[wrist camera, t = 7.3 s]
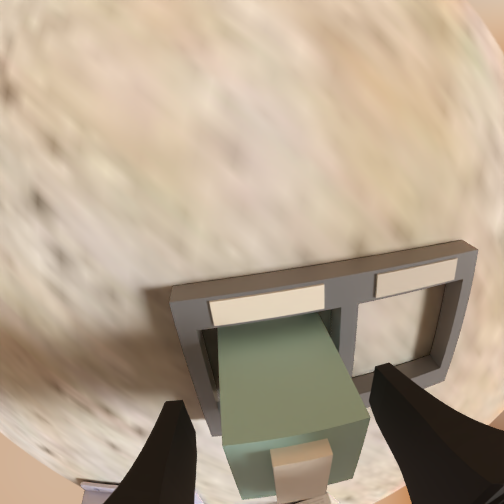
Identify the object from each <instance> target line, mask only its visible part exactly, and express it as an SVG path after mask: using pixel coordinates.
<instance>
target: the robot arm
mask: <svg viewBox="0 0 504 504" xmlns="http://www.w3.org/2000/svg"><path fill="white" fill-rule="evenodd" d="M369 403H370V406H371V409H372V412H373V414H374V417H375V420H376V422H377V424H378V426H379V428H380V430H381V432H382V434H383V436H384V438H385V440H386V442H387V444H388V446H389V448H390V450H391V451H392V453H393V455H394V457H395V459H396V461H397V463H398V465H399V468H400V470H401V472H402V475H403V478H404V481H405V483H406V486H407V489H408V492H409V495H410V499H411V502H412V504H504V431H503V430H499V429H496V428H493V427H490V426H488V425H485V424H483V423H480V422H478V421H476V420H473V419H471V418H469V417H467V416H465V415H463V414H462V413H460V412H458V411H456V410H454V409H452V408H451V407H449V406H448V405H446V404H444V403H443V402H441V401H440V400H438V399H437V398H435V397H434V396H432V395H431V394H430V393H428V392H427V391H425V390H424V389H423V388H421V387H420V386H419V385H417V384H416V383H415V382H413V381H412V380H411V379H410V378H408V377H407V376H406V375H404V374H403V373H402V372H401V371H399V370H398V369H397V368H396V367H394V366H393V365H392V364H390V363H386V364H382V365H379V366H375V371H374V376H373V382H372V387H371V392H370V397H369ZM196 463H197V448H196V432H195V429H194V427H193V425H192V422H191V420H190V417H189V415H188V413H187V410H186V408H185V405H184V403H183V400H177V401H166V402H165V403H164V406H163V408H162V411H161V413H160V415H159V417H158V419H157V422H156V424H155V426H154V428H153V430H152V432H151V434H150V436H149V438H148V440H147V441H146V443H145V445H144V447H143V449H142V451H141V452H140V454H139V456H138V457H137V459H136V461H135V462H134V464H133V466H132V467H131V469H130V470H129V472H128V473H127V474H126V476H125V477H124V479H123V480H122V481H121V483H120V484H119V485H109V484H99V483H91V482H81V485H80V486H81V487H82V488H83V489H84V490H85V491H84V496H83V501H82V504H204V502H203V501H202V499H201V498H200V496H199V495H198V493H197V492H196V490H195V480H196Z"/></svg>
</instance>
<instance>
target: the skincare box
mask: <svg viewBox="0 0 504 504" xmlns="http://www.w3.org/2000/svg"><path fill="white" fill-rule="evenodd" d="M295 504H341V503H340V502H339V501H338V500H337V499H336V498H334V497H333V496H332V495H331V494H329V493H326V494H325V495H322V496H318V497H314V498H310V499H307V500H304V501H301V502H298V503H295Z"/></svg>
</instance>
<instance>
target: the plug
mask: <svg viewBox="0 0 504 504" xmlns="http://www.w3.org/2000/svg"><path fill="white" fill-rule="evenodd" d="M217 329H218V361H219V387H220V409H221V428H222V445H223V449H224V452H225V454H226V457H227V460H228V463H229V466H230V469H231V471H232V474H233V477H234V479H235V482H236V485H237V487H238V490H239V493H240V495H241V498H242V500H244V499H253V498H261V497H268V496H275V495H276V496H277V501H278V504H283V503H289V502H294V501H299V500H304V499H309V498H314V497H318V496H322V495H325V494H326V490H327V485H329V484H333V483H337V482H341V481H345V480H348V479H352V478H353V475H354V472H355V469H356V466H357V463H358V460H359V456H360V453H361V450H362V446H363V443H364V439H365V436H366V432H367V428H368V425H369V421H370V415H369V413H368V411H367V409H366V407H365V405H364V403H363V401H362V399H361V397H360V395H359V393H358V391H357V389H356V387H355V385H354V383H353V381H352V379H351V377H350V375H349V373H348V371H347V369H346V367H345V365H344V363H343V361H342V359H341V357H340V355H339V353H338V351H337V349H336V347H335V345H334V343H333V341H332V339H331V337H330V335H329V333H328V331H327V329H326V327H325V326H324V324H323V322H322V320H321V318H320V316H319V314H318V312H313V313H308V314H302V315H297V316H291V317H285V318H279V319H273V320H266V321H260V322H254V323H247V324H240V325H233V326H226V327H218V328H217Z"/></svg>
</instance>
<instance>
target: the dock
mask: <svg viewBox="0 0 504 504" xmlns="http://www.w3.org/2000/svg"><path fill="white" fill-rule="evenodd" d="M477 254H478V249H476V248H475V247H473V246H472V245H470V244H468V243H467V242H465V241H463V240H460V241H455V242H449V243H444V244H438V245H433V246H427V247H422V248H416V249H410V250H405V251H399V252H393V253H387V254H381V255H375V256H369V257H363V258H357V259H351V260H345V261H339V262H333V263H327V264H320V265H314V266H308V267H301V268H295V269H288V270H282V271H275V272H269V273H262V274H255V275H248V276H242V277H235V278H228V279H221V280H214V281H207V282H199V283H192V284H185V285H177V286H173V287H172V291H171V296H170V300H169V305H170V308H171V312H172V315H173V319H174V323H175V326H176V330H177V333H178V336H179V340H180V343H181V346H182V350H183V353H184V356H185V359H186V363H187V366H188V369H189V372H190V375H191V378H192V381H193V384H194V387H195V390H196V393H197V396H198V399H199V402H200V405H201V408H202V411H203V413H204V416H205V419H206V422H207V424H208V427H209V430H210V433H211V435H212V437H213V436H222V428H221V409H220V399H219V395H218V392H217V388H216V384H215V381H214V377H213V373H212V369H211V366H210V362H209V358H208V354H207V350H206V346H205V342H204V338H203V334H202V330H203V329H211V328H218V327H226V326H233V325H240V324H247V323H254V322H260V321H266V320H273V319H279V318H285V317H291V316H297V315H302V314H308V313H313V312H319V311H324V310H330V309H331V339H332V341H333V343H334V345H335V347H336V349H337V351H338V353H339V355H340V357H341V359H342V361H343V363H344V365H345V367H346V369H347V371H348V373H349V375H350V377H351V379H352V381H353V383H354V385H355V387H356V389H357V391H358V393H359V395H360V397H361V399H362V401H363V403H364V405H365V407H366V408H367V407H371V406H370V403H369V397H370V392H371V387H372V382H373V376H374V373H370V374H366V375H362V376H359V377H355V378H352V370H353V361H354V351H355V341H356V330H357V317H358V304H360V303H364V302H369V301H374V300H378V299H383V298H387V297H392V296H396V295H401V294H405V293H409V292H413V291H418V290H422V289H426V288H430V287H434V286H438V285H442V284H446V286H445V292H444V297H443V302H442V307H441V312H440V316H439V321H438V325H437V329H436V333H435V337H434V341H433V345H432V349H431V353H430V355H428V356H425V357H422V358H419V359H416V360H413V361H410V362H407V363H404V364H401V365H398V366H394V367H396V368H397V369H398V370H399V371H401V372H402V373H403V374H404V375H406V376H407V377H408V378H410V379H411V380H412V381H413V382H415V383H416V384H417V385H419V386H420V387H421V388H423V389H424V388H427V387H430V386H432V385H435V384H437V383H440V382H442V381H444V380H445V377H446V374H447V372H448V369H449V366H450V363H451V360H452V357H453V354H454V351H455V347H456V344H457V341H458V338H459V334H460V331H461V327H462V323H463V320H464V316H465V312H466V308H467V304H468V300H469V295H470V291H471V286H472V281H473V276H474V271H475V266H476V260H477Z"/></svg>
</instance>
